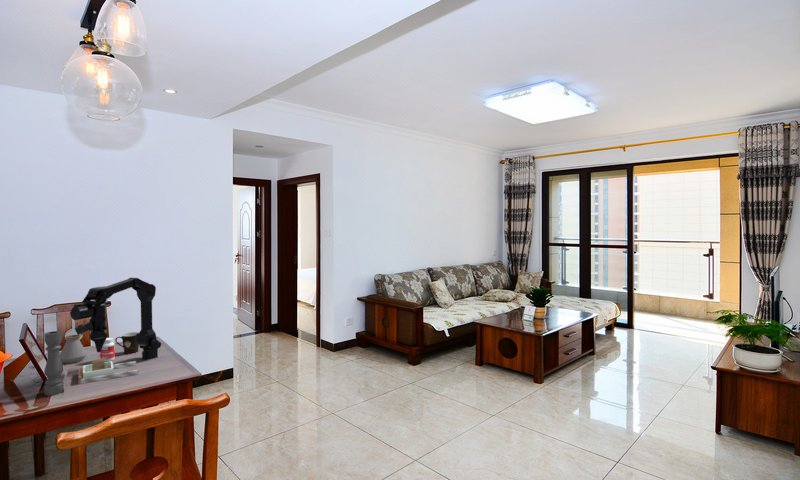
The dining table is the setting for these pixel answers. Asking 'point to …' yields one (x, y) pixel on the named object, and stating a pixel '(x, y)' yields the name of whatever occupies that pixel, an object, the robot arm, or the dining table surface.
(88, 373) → the crate
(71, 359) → the coffee pot
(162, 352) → the dining table surface
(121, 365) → the bay board
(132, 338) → the coffee mug
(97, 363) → the walnut block
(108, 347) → the pill bottle
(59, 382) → the candle holder
